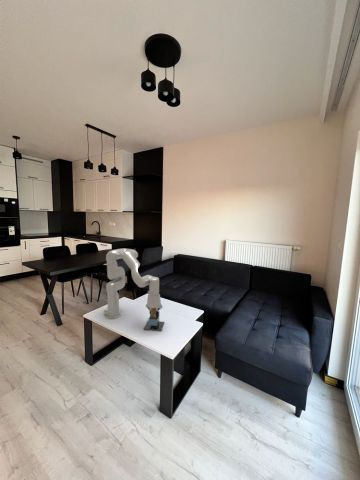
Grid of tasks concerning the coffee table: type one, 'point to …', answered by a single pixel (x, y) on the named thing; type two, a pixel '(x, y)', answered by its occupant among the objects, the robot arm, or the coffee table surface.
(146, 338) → the coffee table surface
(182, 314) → the coffee table surface
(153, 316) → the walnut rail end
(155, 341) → the coffee table surface
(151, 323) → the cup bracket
